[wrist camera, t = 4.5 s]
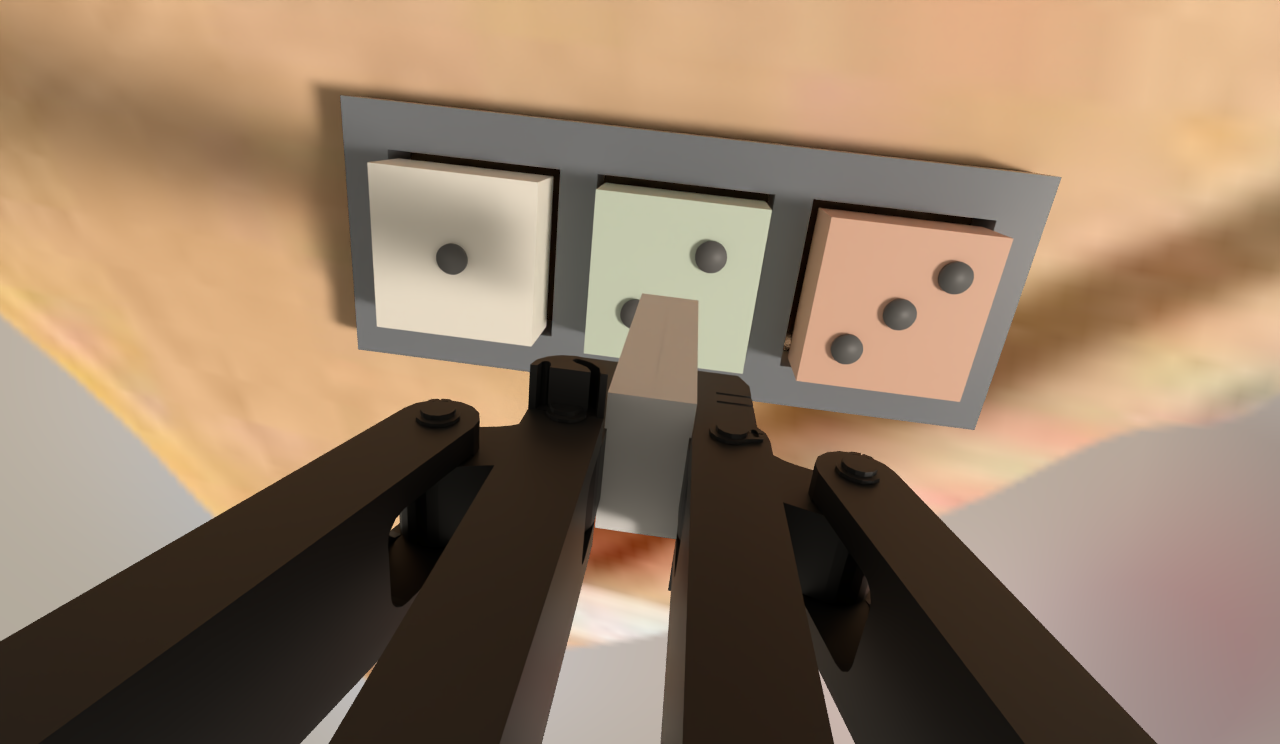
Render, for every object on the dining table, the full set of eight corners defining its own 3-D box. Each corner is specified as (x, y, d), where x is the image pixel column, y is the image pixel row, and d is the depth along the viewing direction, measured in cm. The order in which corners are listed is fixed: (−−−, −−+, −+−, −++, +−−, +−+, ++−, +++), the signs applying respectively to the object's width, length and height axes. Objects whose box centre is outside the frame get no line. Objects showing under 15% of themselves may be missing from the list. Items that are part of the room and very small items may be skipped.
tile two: (594, 332, 26) (582, 355, 24) (605, 182, 24) (595, 190, 21) (738, 350, 26) (743, 376, 23) (764, 201, 23) (772, 210, 21)
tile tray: (380, 334, 29) (358, 349, 27) (366, 97, 25) (340, 95, 23) (955, 409, 28) (974, 430, 26) (1033, 173, 24) (1061, 177, 22)
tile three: (787, 357, 26) (797, 382, 23) (818, 207, 23) (833, 218, 21) (936, 376, 25) (961, 404, 23) (982, 226, 23) (1016, 239, 21)
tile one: (405, 308, 26) (374, 328, 24) (399, 158, 24) (364, 162, 22) (546, 326, 26) (530, 348, 24) (553, 176, 24) (536, 183, 21)
